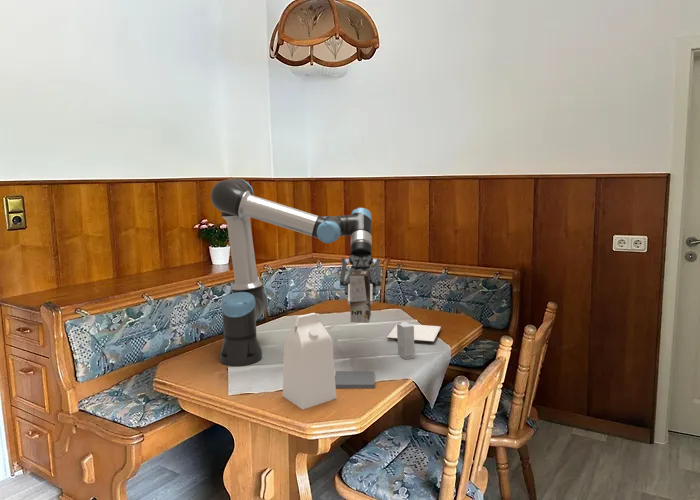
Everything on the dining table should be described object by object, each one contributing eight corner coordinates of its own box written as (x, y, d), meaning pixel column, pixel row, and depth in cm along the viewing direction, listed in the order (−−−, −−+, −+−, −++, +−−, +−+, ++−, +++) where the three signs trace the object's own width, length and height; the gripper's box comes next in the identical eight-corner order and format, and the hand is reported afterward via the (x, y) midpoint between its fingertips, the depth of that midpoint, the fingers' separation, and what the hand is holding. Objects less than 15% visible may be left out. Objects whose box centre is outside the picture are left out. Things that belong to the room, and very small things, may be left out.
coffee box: (369, 323, 181) (368, 275, 178) (350, 322, 182) (348, 275, 179) (371, 315, 190) (370, 269, 187) (353, 315, 191) (351, 269, 188)
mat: (335, 374, 183) (335, 371, 183) (374, 374, 183) (374, 371, 183) (333, 388, 173) (333, 384, 172) (374, 388, 172) (374, 384, 172)
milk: (315, 386, 174) (313, 307, 170) (336, 398, 165) (334, 315, 161) (282, 396, 167) (279, 314, 163) (302, 409, 158) (299, 323, 154)
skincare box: (415, 358, 197) (415, 325, 195) (403, 359, 196) (403, 327, 193) (407, 352, 203) (407, 321, 201) (396, 354, 201) (396, 322, 199)
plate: (386, 341, 216) (386, 336, 215) (397, 327, 233) (397, 322, 233) (433, 345, 210) (433, 340, 210) (440, 331, 228) (441, 326, 227)
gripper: (388, 252, 197) (389, 308, 184) (334, 252, 198) (331, 307, 185) (389, 240, 191) (390, 297, 178) (333, 240, 192) (330, 296, 179)
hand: (360, 302), depth 181 cm, fingers closed on coffee box, 7 cm apart
